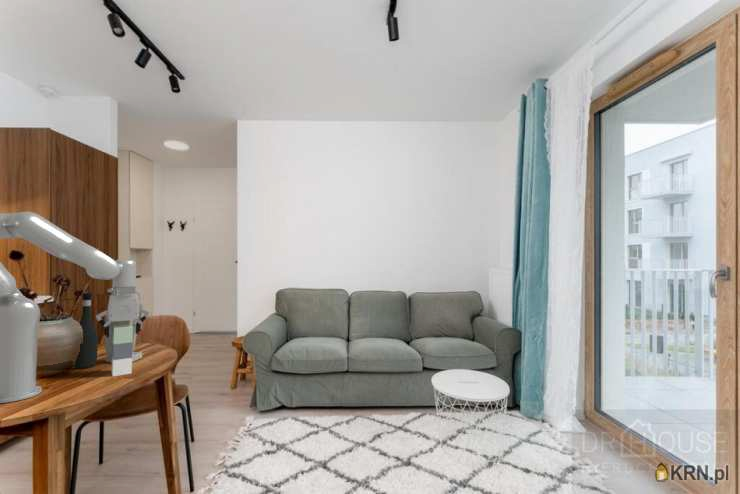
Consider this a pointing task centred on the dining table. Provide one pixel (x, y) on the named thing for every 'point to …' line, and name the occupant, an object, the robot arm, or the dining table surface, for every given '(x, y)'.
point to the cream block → (121, 366)
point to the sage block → (122, 334)
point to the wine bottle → (87, 337)
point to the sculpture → (133, 322)
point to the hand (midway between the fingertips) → (122, 335)
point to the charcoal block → (121, 351)
